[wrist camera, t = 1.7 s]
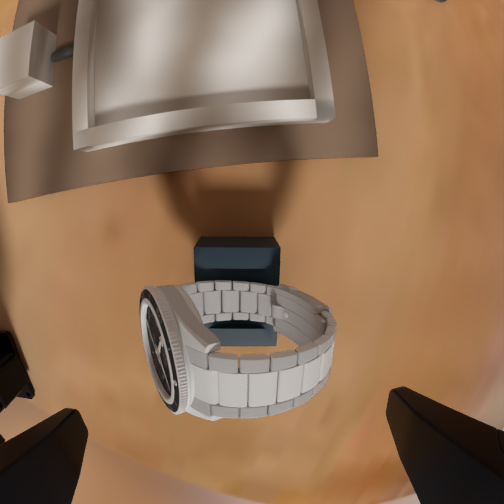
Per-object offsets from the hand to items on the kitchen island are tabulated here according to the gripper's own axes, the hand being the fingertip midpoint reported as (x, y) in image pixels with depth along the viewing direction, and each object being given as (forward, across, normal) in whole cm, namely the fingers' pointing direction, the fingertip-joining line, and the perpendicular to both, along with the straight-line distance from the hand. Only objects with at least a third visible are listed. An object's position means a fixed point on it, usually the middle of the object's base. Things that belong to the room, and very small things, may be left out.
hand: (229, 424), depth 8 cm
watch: (+13, 0, 0) cm, 13 cm away
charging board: (+12, +3, -16) cm, 20 cm away
